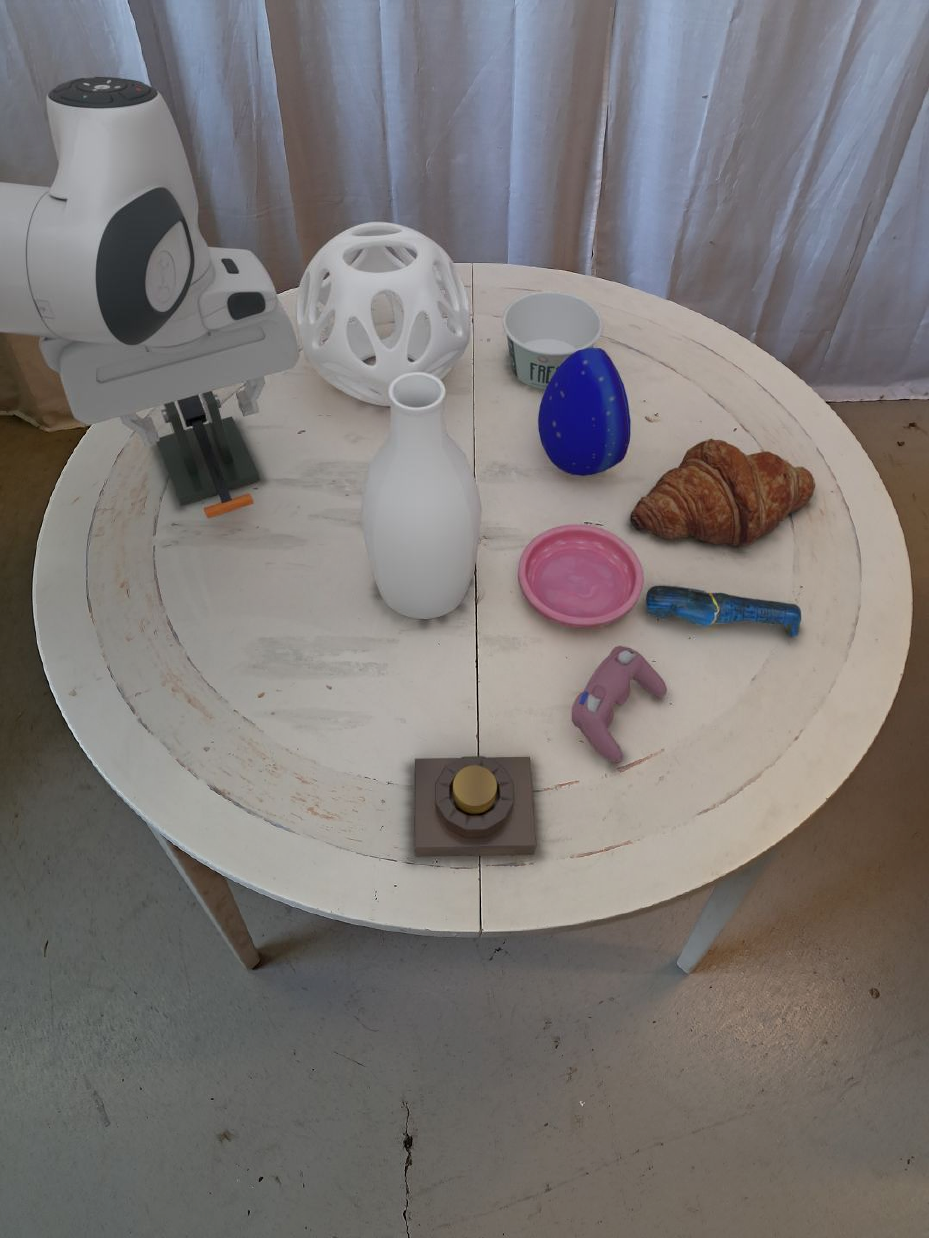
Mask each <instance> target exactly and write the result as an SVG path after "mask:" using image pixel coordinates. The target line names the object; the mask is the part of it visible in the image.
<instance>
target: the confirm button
mask: <svg viewBox="0 0 929 1238" xmlns="http://www.w3.org/2000/svg"><path fill="white" fill-rule="evenodd" d="M496 792H497V782H496V779H495V777H494V775H493V774H492V772H491V771H489V770H488V769H487V768H485V767H482V766H478V765H471V766H467V767H465V768H463V769H461V770H460V771H459V772H458V773H457V774H456V776H455V778H454V781H453V799H454V801H455V803H456V805H457V806H458V807H459V808H460V809H461V810H463V811H464V812H467V813H471V814H479V813H483V812H485V811H487V810H488V809H489V808H491V806H492V805H493V804H494V802H495V799H496Z"/></svg>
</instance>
